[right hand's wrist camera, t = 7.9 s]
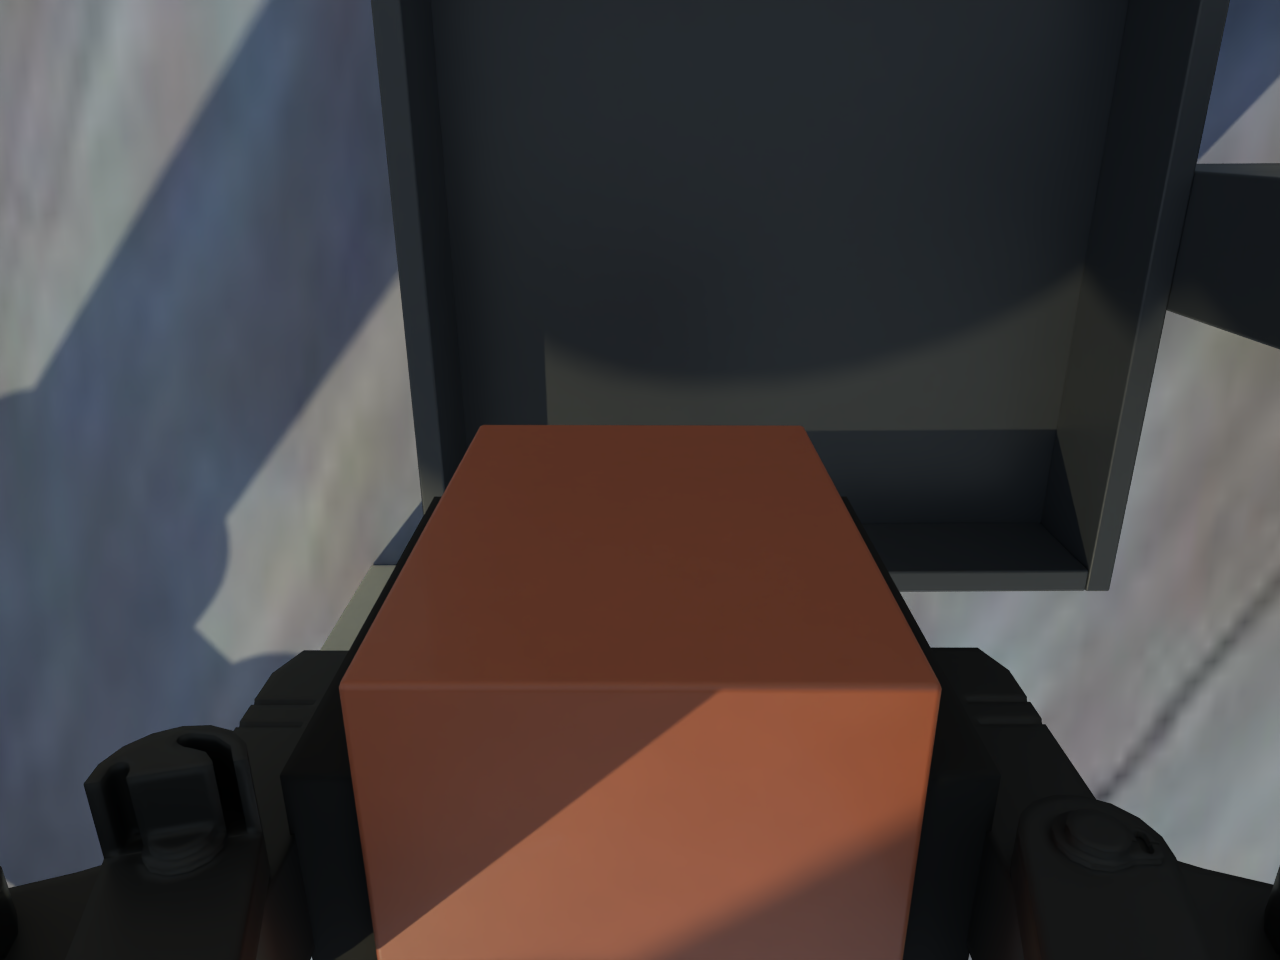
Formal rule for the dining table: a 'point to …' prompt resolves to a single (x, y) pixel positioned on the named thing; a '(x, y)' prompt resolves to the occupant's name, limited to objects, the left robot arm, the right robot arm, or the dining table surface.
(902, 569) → the tray
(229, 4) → the dining table surface
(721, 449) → the terracotta block
